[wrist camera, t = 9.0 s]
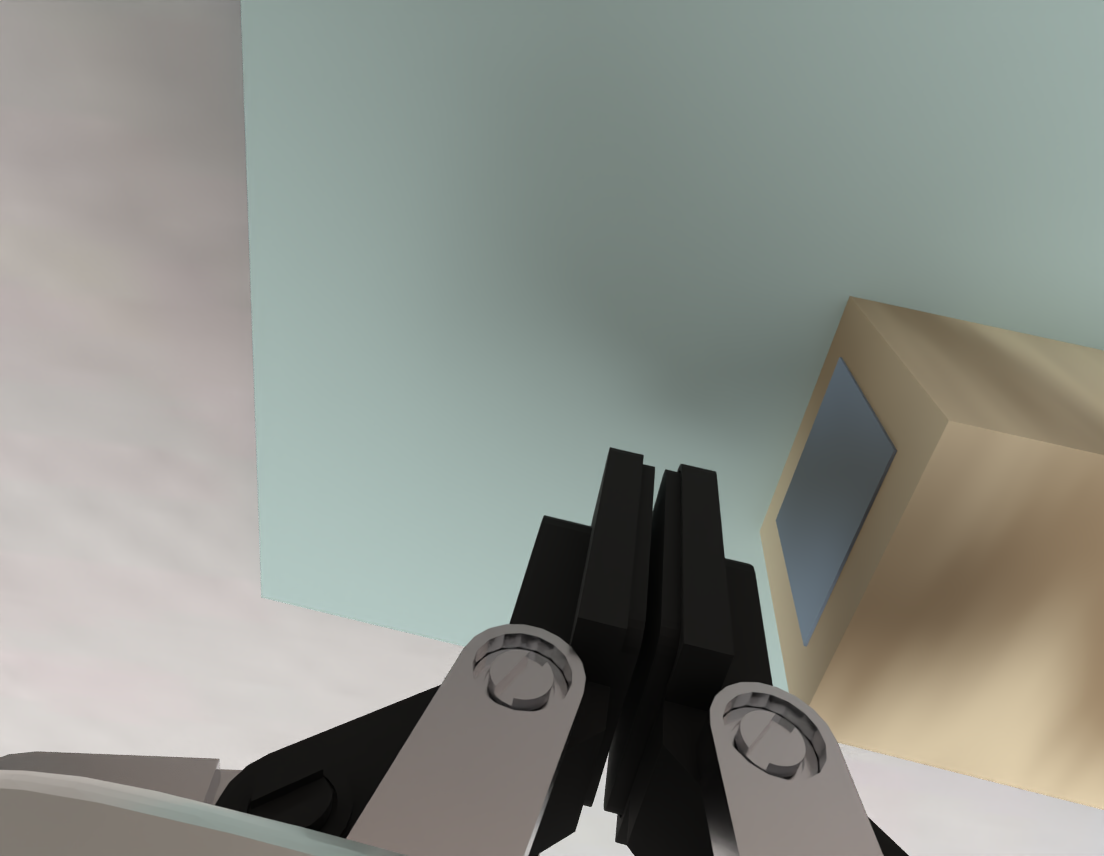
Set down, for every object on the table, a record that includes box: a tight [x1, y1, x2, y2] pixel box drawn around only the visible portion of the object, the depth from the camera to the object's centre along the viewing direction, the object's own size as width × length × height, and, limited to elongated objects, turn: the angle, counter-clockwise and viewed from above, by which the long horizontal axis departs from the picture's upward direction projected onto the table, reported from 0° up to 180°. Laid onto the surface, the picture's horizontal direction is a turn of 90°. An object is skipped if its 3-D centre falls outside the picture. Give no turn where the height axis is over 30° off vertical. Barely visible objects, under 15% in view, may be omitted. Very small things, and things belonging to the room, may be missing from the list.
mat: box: [240, 0, 1104, 693], centre depth 16 cm, size 18×36×1 cm, turn 80°
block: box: [760, 296, 1104, 810], centre depth 13 cm, size 6×6×6 cm
